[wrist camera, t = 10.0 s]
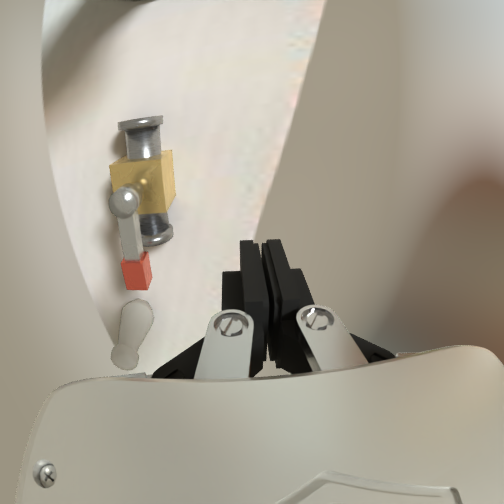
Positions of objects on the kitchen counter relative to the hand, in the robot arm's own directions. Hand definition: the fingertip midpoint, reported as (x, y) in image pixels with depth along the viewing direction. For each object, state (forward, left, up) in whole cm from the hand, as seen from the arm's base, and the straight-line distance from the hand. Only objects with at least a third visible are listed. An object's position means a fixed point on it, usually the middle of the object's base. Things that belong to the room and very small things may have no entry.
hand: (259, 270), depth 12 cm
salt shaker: (+25, -18, -27) cm, 41 cm away
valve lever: (+6, -12, -18) cm, 23 cm away
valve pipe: (+2, -12, -27) cm, 30 cm away
